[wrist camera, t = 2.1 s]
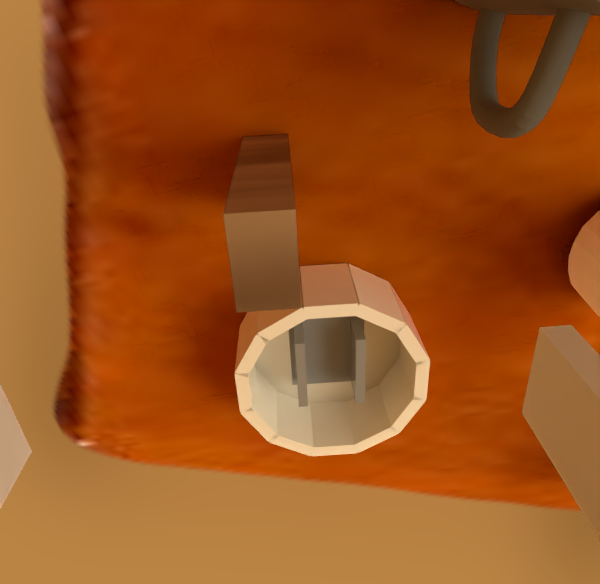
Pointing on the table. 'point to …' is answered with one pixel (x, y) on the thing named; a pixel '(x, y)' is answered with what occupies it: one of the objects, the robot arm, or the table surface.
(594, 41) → the table surface
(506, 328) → the table surface
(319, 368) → the white round bowl
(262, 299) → the tall brown wooden block
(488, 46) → the mug
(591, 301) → the cup
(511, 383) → the table surface
